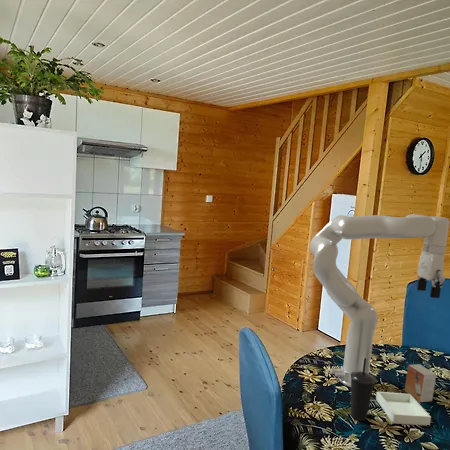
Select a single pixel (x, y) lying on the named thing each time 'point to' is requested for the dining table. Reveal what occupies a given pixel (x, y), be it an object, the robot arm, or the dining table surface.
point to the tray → (403, 408)
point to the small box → (420, 383)
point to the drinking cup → (361, 393)
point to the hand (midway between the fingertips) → (427, 293)
